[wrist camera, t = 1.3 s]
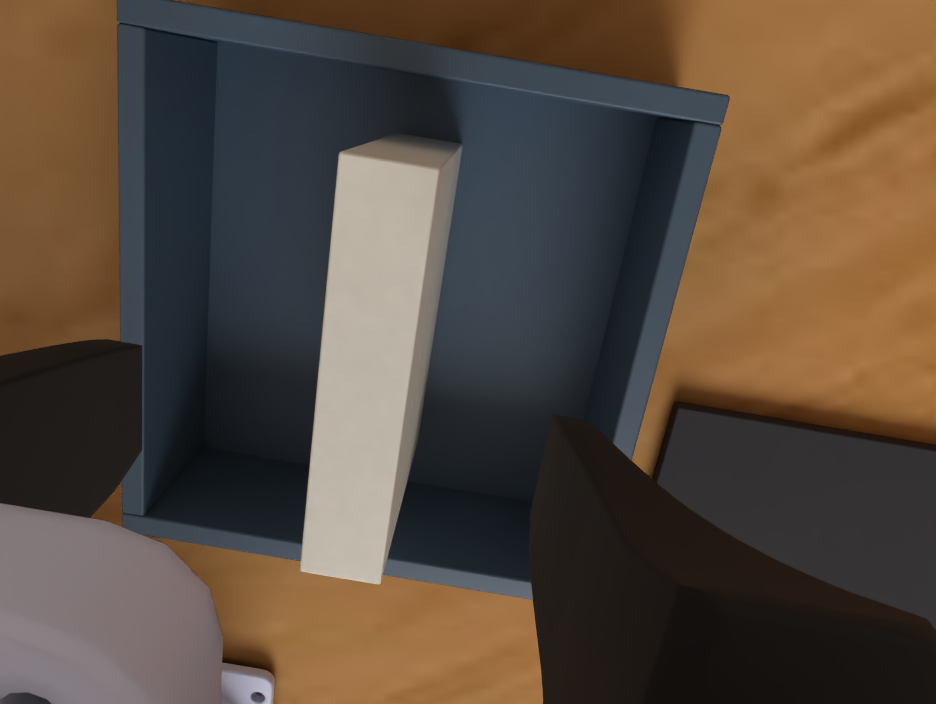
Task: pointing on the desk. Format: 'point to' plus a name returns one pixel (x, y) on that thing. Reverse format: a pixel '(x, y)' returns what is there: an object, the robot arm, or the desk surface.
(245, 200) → the bin
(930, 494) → the mat
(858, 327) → the desk surface
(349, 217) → the block
